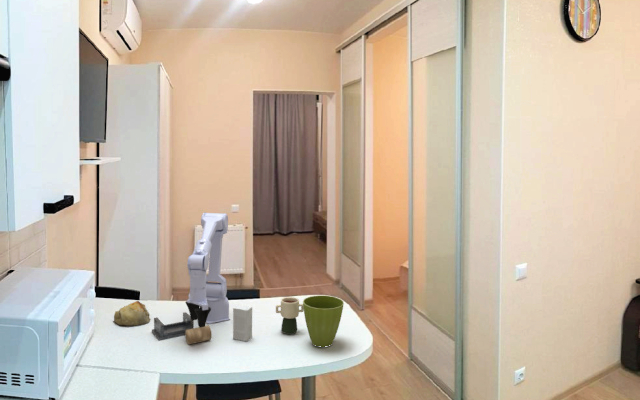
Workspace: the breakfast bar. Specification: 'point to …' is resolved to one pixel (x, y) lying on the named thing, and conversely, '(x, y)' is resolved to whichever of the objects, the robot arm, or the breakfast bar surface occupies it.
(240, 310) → the skincare box
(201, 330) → the cylinder
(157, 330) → the holder
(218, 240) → the robot arm
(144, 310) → the pastry
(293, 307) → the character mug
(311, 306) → the flower pot
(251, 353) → the breakfast bar surface
